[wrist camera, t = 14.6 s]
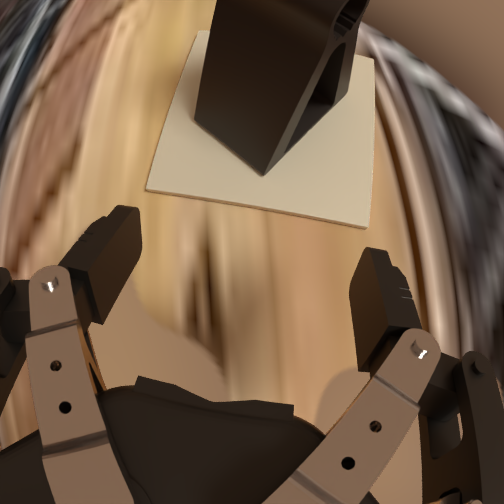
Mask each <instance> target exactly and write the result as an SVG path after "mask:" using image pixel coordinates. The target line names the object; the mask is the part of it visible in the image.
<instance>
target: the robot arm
mask: <svg viewBox="0 0 504 504" xmlns="http://www.w3.org/2000/svg"><path fill="white" fill-rule="evenodd" d="M141 251H142V234H141V222H140V211H139V209H138V208H137V207H131V206H124V205H117V206H116V207H115V208H114V209H113V210H112V212H111V213H110V214H109V215H108V216H107V217H105V216H103V217H101V218H100V219H98V220H96V221H95V222H93V223H92V224H91V225H90V226H89V227H88V228H87V230H86V231H85V232H84V234H82V235H81V237H80V238H79V239H78V241H77V242H76V243H75V244H74V245H73V246H72V248H71V249H70V250H69V251H68V253H67V254H66V255H65V256H64V258H63V259H62V260H61V261H60V263H59V264H58V265H57V266H56V265H53V266H47V267H44V268H42V269H40V270H39V271H37V272H36V273H35V274H34V275H33V276H32V278H31V279H30V280H12V277H11V275H10V273H9V271H8V270H7V269H6V268H3V267H0V416H1V413H2V411H3V409H4V406H5V404H6V401H7V399H8V397H9V394H10V392H11V390H12V388H13V385H14V383H15V381H16V379H17V376H18V374H19V372H20V370H21V368H22V366H23V364H24V362H25V360H26V358H27V362H28V370H29V377H30V384H31V390H32V396H33V402H34V407H35V412H36V417H37V422H38V427H39V429H38V430H36V431H34V432H33V433H31V434H29V435H28V436H26V437H24V438H22V439H21V440H19V441H17V442H16V443H14V444H12V445H10V446H9V447H7V448H5V449H3V450H1V444H0V450H1V451H0V504H379V503H378V501H377V500H376V499H375V498H374V497H373V495H372V494H371V493H370V492H369V490H370V488H371V487H372V486H373V484H374V482H375V481H376V480H377V478H378V477H379V476H380V474H381V473H382V471H383V470H384V468H385V467H386V465H387V464H388V462H389V461H390V459H391V457H392V456H393V455H394V453H395V452H396V450H397V448H398V447H399V445H400V443H401V442H402V440H403V439H404V437H405V435H406V434H407V432H408V430H409V428H410V427H411V425H412V423H413V421H414V420H415V418H416V416H417V414H418V419H419V430H420V442H421V460H422V498H423V501H422V504H504V408H503V404H502V400H501V396H500V392H499V388H498V384H497V381H496V377H495V373H494V370H493V367H492V365H491V363H490V362H489V360H488V359H487V358H486V357H485V356H484V355H482V354H481V353H479V352H475V351H469V352H467V353H466V354H465V355H464V356H463V357H462V358H461V359H460V360H459V359H457V358H454V357H452V356H449V355H447V354H444V353H442V352H441V350H440V347H439V344H438V343H437V341H436V340H435V338H434V337H433V336H432V335H430V334H429V333H428V332H426V331H424V330H422V327H421V323H420V320H419V317H418V313H417V310H416V307H415V304H414V301H413V300H412V295H411V292H410V291H409V286H408V283H407V280H406V277H405V276H404V275H403V273H402V272H401V271H400V270H399V268H398V267H395V266H392V264H391V261H390V258H389V255H388V252H387V251H386V250H380V249H375V248H370V247H366V248H365V249H364V251H363V253H362V255H361V258H360V260H359V263H358V265H357V268H356V270H355V272H354V275H353V277H352V280H351V283H350V288H349V300H350V307H351V314H352V321H353V329H354V337H355V346H356V355H357V364H358V371H359V372H370V380H369V381H368V382H367V384H366V385H365V386H364V388H363V389H362V390H361V392H360V393H359V394H358V396H357V397H356V398H355V399H354V401H353V402H352V403H351V404H350V406H349V407H348V408H347V409H346V411H345V412H344V413H343V414H342V415H341V417H340V418H339V419H338V420H337V421H336V423H335V424H334V425H333V426H332V427H331V428H330V430H329V431H328V432H327V433H326V434H323V432H321V431H320V430H319V429H318V428H316V427H315V426H314V425H312V424H311V423H309V422H307V421H305V420H303V419H301V418H299V417H297V416H294V415H293V413H294V405H291V404H282V403H274V402H267V401H259V400H247V401H231V402H211V401H208V400H206V399H204V398H202V397H199V396H197V395H195V394H193V393H191V392H189V391H187V390H185V389H182V388H180V387H178V386H176V385H174V384H170V383H165V382H161V381H157V380H153V379H149V378H146V377H142V376H138V378H137V380H136V383H135V386H134V385H133V386H132V385H131V386H120V387H115V388H111V389H108V390H107V389H106V386H105V384H104V381H103V379H102V376H101V373H100V369H99V366H98V363H97V359H96V356H95V352H94V349H93V345H92V341H91V338H90V334H89V331H88V327H89V326H90V324H91V322H94V323H98V324H101V325H103V324H104V322H105V320H106V318H107V316H108V314H109V312H110V311H111V309H112V307H113V305H114V303H115V301H116V299H117V298H118V296H119V294H120V292H121V290H122V288H123V287H124V285H125V283H126V281H127V279H128V278H129V276H130V274H131V272H132V271H133V269H134V267H135V265H136V264H137V262H138V260H139V258H140V255H141ZM458 413H460V416H461V422H462V428H463V437H462V440H461V438H460V431H459V424H458V417H457V414H458Z"/></svg>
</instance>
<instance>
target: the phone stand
mask: <svg viewBox="0 0 504 504" xmlns="http://www.w3.org/2000/svg"><path fill="white" fill-rule="evenodd" d="M369 1H370V0H217V2H216V6H215V11H214V15H213V20H212V24H211V29H210V34H209V38H208V43H207V48H206V53H205V58H204V64H203V69H202V74H201V80H200V86H199V91H198V97H197V103H196V109H195V115H194V120H195V121H196V122H197V123H199V124H200V125H201V126H202V127H204V128H205V129H206V130H208V131H209V132H210V133H212V134H213V135H214V136H215V137H217V138H218V139H219V140H220V141H222V142H223V143H224V144H225V145H227V146H228V147H229V148H231V149H232V150H233V151H234V152H235V153H237V154H238V155H239V156H240V157H242V158H243V159H244V160H245V161H247V162H248V163H249V164H250V165H251V166H253V167H254V168H255V169H256V170H258V171H259V172H260V173H261V174H262V175H264V176H265V175H266V174H267V173H268V172H269V171H270V170H271V169H272V168H273V167H274V166H275V165H276V164H277V163H278V162H279V161H280V160H281V159H282V158H283V157H284V156H285V155H286V154H287V153H288V152H289V151H290V150H291V149H292V148H293V147H294V146H295V145H296V144H297V143H298V142H299V141H300V140H301V139H302V138H303V137H304V136H305V135H306V134H307V132H308V131H309V130H311V129H312V128H313V127H314V126H315V125H316V124H317V123H318V122H319V121H320V120H321V119H322V118H323V117H324V116H325V115H326V114H327V113H328V112H329V111H330V110H331V109H332V108H333V107H334V106H335V105H336V104H337V103H338V102H339V101H340V100H341V99H342V98H343V97H344V96H345V95H346V94H347V92H348V88H349V83H350V77H351V71H352V65H353V60H354V53H355V47H356V41H357V35H358V29H359V25H360V22H361V19H362V17H363V14H364V12H365V10H366V8H367V6H368V3H369Z"/></svg>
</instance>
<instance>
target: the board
mask: <svg viewBox="0 0 504 504" xmlns="http://www.w3.org/2000/svg"><path fill="white" fill-rule="evenodd" d="M209 34H210V31H206V30H199V32H198V34H197V37H196V39H195V41H194V44H193V46H192V49H191V51H190V54H189V56H188V59H187V62H186V64H185V67H184V69H183V72H182V75H181V77H180V80H179V83H178V86H177V89H176V91H175V94H174V97H173V100H172V103H171V106H170V109H169V112H168V115H167V118H166V121H165V124H164V127H163V130H162V133H161V137H160V140H159V143H158V147H157V150H156V153H155V157H154V160H153V164H152V167H151V171H150V175H149V178H148V182H147V186H146V190H147V191H148V192H154V193H161V194H168V195H175V196H182V197H188V198H195V199H201V200H208V201H214V202H220V203H226V204H232V205H238V206H244V207H250V208H256V209H262V210H267V211H273V212H278V213H284V214H289V215H295V216H300V217H306V218H311V219H316V220H321V221H326V222H331V223H336V224H341V225H346V226H351V227H356V228H361V229H367V228H369V219H370V207H371V194H372V179H373V161H374V131H375V82H374V59H371V58H367V57H364V56H360V55H356V54H354V60H353V65H352V71H351V77H350V83H349V88H348V92H347V94H346V95H345V96H344V97H343V98H342V99H341V100H340V101H339V102H338V103H337V104H336V105H335V106H334V107H333V108H332V109H331V110H330V111H329V112H328V113H327V114H326V115H325V116H324V117H323V118H322V119H321V120H320V121H319V122H318V123H317V124H316V125H315V126H314V127H313V128H312V129H311V130H309V131H308V132H307V134H306V135H305V136H304V137H303V138H302V139H301V140H300V141H299V142H298V143H297V144H296V145H295V146H294V147H293V148H292V149H291V150H290V151H289V152H288V153H287V154H286V155H285V156H284V157H283V158H282V159H281V160H280V161H279V162H278V163H277V164H276V165H275V166H274V167H273V168H272V169H271V170H270V171H269V172H268V173H267V174H266V175H265V176H264V175H262V174H261V173H260V172H259V171H258V170H256V169H255V168H254V167H253V166H251V165H250V164H249V163H248V162H247V161H245V160H244V159H243V158H242V157H240V156H239V155H238V154H237V153H235V152H234V151H233V150H232V149H231V148H229V147H228V146H227V145H225V144H224V143H223V142H222V141H220V140H219V139H218V138H217V137H215V136H214V135H213V134H212V133H210V132H209V131H208V130H206V129H205V128H204V127H202V126H201V125H200V124H199V123H197V122H196V121H195V120H194V115H195V109H196V103H197V97H198V91H199V86H200V80H201V74H202V69H203V64H204V58H205V53H206V48H207V43H208V38H209Z"/></svg>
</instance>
